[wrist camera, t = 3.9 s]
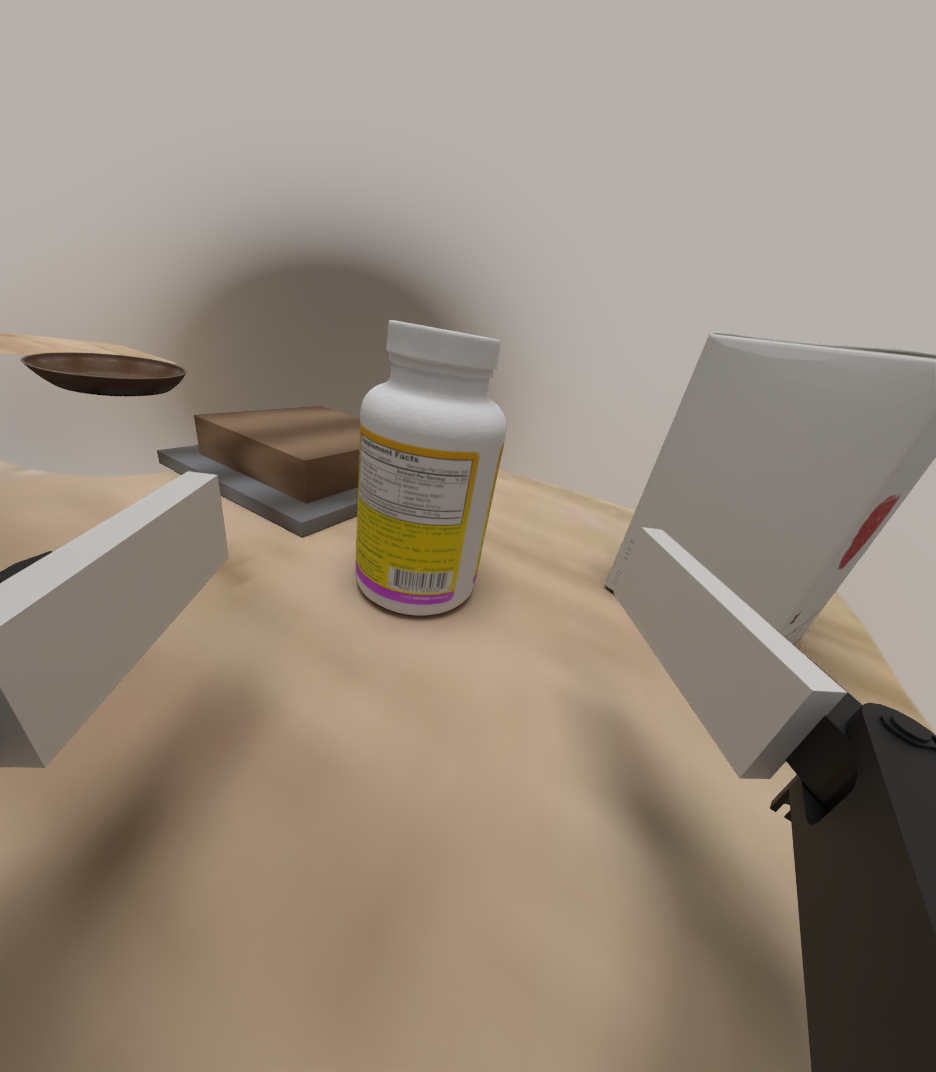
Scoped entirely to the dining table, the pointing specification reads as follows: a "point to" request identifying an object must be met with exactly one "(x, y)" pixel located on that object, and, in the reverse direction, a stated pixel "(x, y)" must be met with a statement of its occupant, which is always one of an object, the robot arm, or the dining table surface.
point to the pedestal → (279, 463)
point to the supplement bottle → (427, 470)
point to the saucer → (106, 373)
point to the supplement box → (788, 466)
